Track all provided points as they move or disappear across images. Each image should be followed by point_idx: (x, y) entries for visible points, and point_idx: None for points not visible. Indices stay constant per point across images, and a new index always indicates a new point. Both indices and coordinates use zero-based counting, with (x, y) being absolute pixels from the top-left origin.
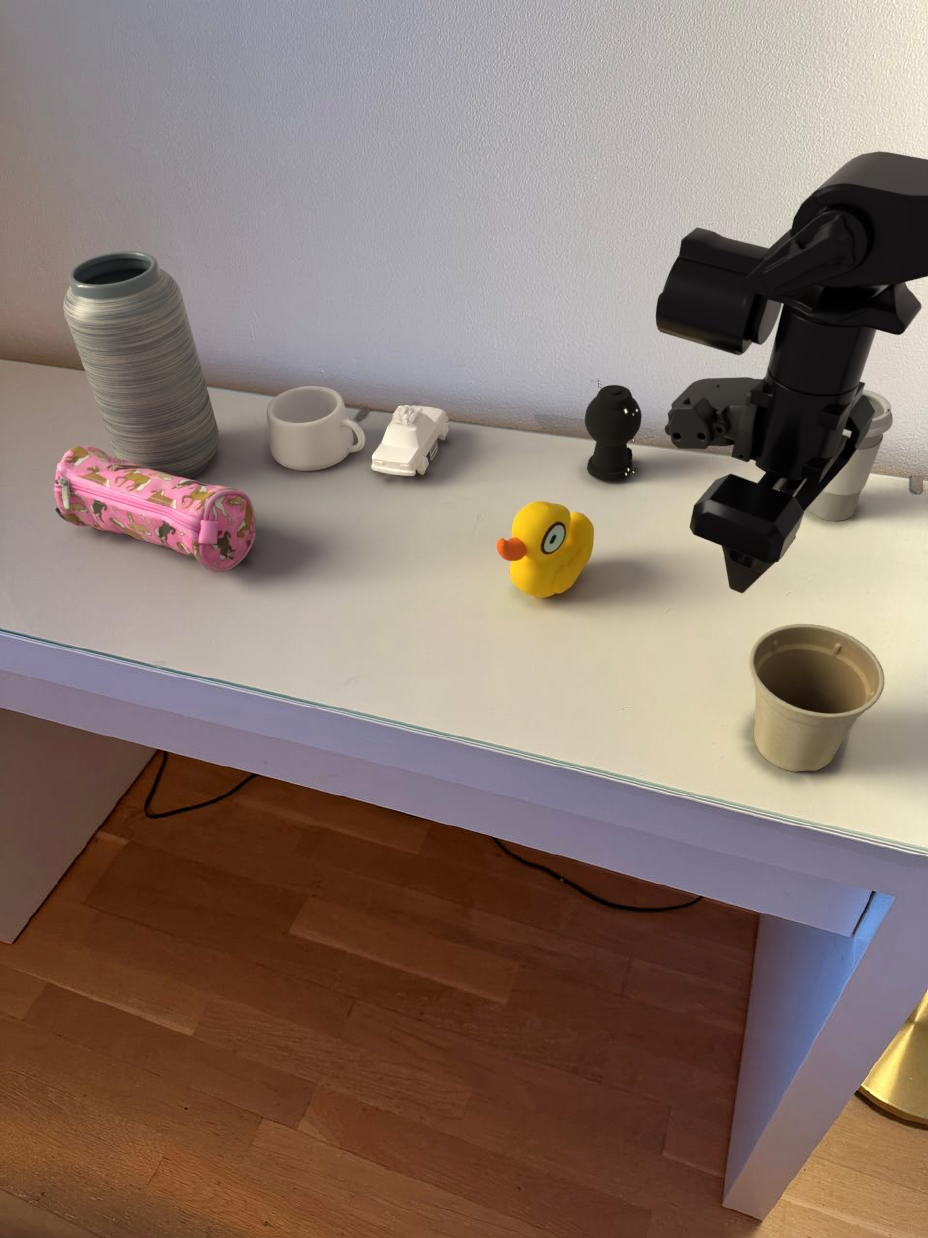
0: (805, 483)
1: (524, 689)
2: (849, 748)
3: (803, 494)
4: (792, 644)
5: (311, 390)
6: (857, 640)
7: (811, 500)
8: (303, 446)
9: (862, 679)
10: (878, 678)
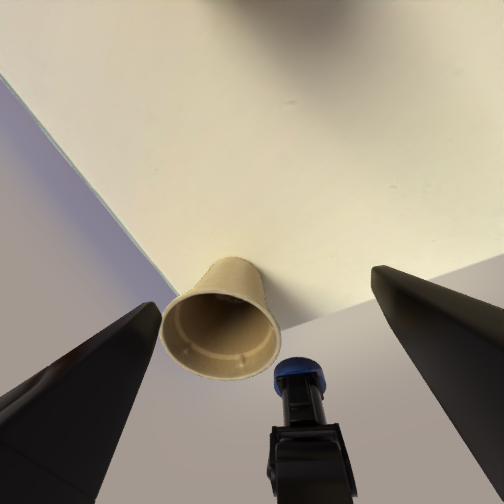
0: (474, 410)
1: (85, 70)
2: None
3: (437, 369)
4: (252, 293)
5: None
6: (279, 349)
7: (423, 378)
8: None
9: (260, 345)
10: (250, 371)
